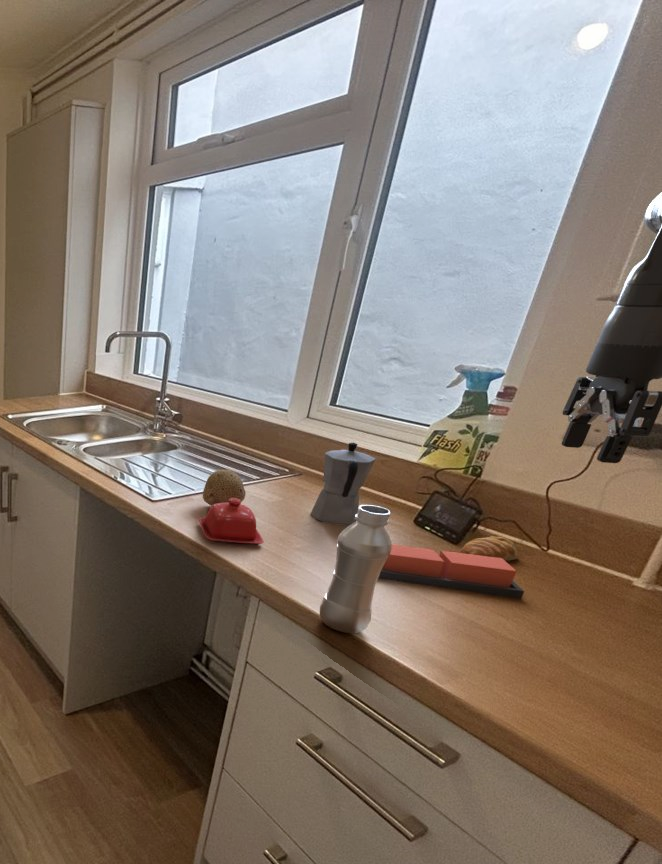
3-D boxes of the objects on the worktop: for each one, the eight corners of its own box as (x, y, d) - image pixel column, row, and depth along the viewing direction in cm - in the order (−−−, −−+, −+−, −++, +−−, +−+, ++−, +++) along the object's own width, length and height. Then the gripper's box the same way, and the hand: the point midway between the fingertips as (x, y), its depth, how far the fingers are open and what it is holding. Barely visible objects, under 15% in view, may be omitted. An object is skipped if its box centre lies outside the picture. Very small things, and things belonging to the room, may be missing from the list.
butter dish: (265, 549, 107) (273, 510, 104) (205, 545, 109) (212, 507, 106) (249, 526, 118) (256, 490, 115) (195, 522, 120) (201, 487, 117)
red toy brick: (426, 568, 98) (433, 549, 97) (437, 581, 94) (444, 561, 92) (370, 560, 101) (376, 542, 100) (378, 572, 97) (384, 553, 95)
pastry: (486, 569, 99) (493, 551, 97) (447, 554, 105) (453, 536, 103) (518, 561, 102) (526, 543, 100) (479, 546, 108) (485, 529, 106)
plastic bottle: (371, 642, 79) (411, 521, 71) (320, 633, 81) (353, 514, 73) (360, 619, 84) (395, 504, 77) (312, 611, 87) (342, 498, 79)
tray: (492, 575, 97) (496, 565, 96) (519, 602, 89) (524, 591, 88) (356, 556, 104) (358, 547, 103) (369, 580, 96) (372, 569, 95)
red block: (494, 577, 95) (502, 558, 93) (508, 591, 91) (517, 571, 89) (433, 569, 98) (440, 550, 96) (444, 582, 94) (452, 562, 92)
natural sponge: (249, 510, 126) (256, 471, 122) (229, 520, 121) (236, 479, 117) (214, 499, 133) (220, 462, 129) (193, 508, 128) (199, 469, 124)
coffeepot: (308, 505, 129) (326, 433, 122) (354, 511, 125) (374, 438, 118) (311, 528, 116) (331, 450, 109) (362, 536, 112) (386, 456, 105)
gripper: (720, 346, 65) (657, 471, 71) (637, 337, 77) (590, 444, 83) (638, 345, 67) (585, 465, 73) (571, 336, 80) (530, 440, 86)
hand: (588, 454), depth 78 cm, fingers open, 8 cm apart
